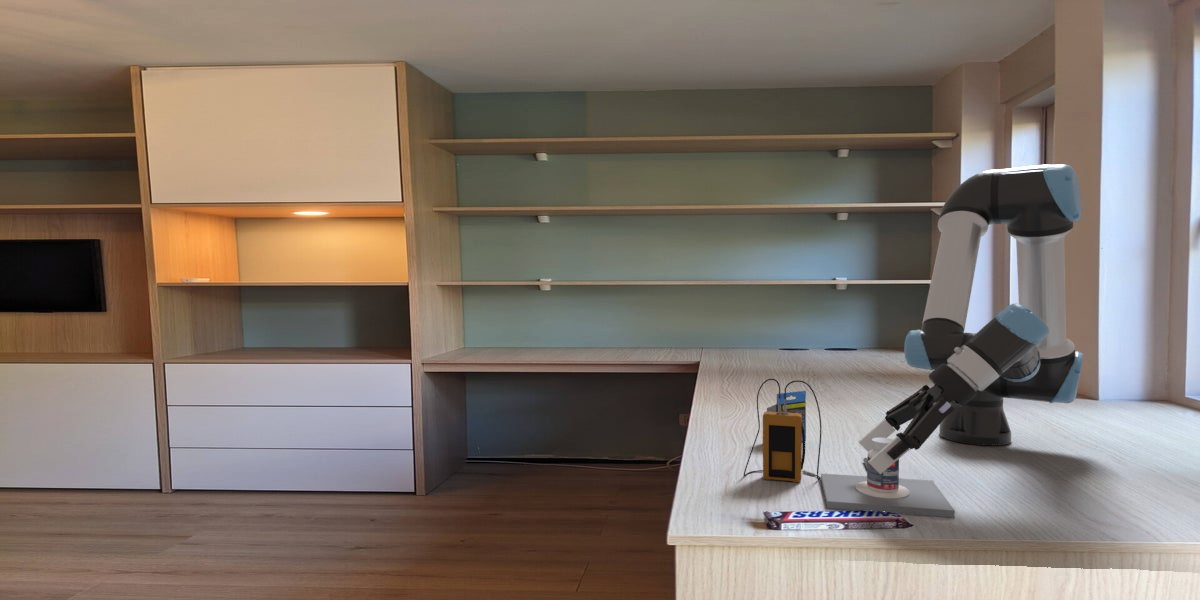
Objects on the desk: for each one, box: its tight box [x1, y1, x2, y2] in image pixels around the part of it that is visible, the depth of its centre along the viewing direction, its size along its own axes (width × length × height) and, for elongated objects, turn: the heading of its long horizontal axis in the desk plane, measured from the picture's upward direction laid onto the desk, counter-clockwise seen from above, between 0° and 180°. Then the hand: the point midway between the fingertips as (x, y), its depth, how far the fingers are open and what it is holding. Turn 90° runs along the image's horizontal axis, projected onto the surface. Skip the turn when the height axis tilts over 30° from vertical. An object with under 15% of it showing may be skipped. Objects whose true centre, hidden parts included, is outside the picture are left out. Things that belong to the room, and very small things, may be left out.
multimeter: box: [743, 378, 822, 483], centre depth 134 cm, size 15×10×20 cm
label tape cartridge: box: [766, 390, 807, 443], centre depth 159 cm, size 9×4×12 cm, turn 114°
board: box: [820, 457, 956, 519], centre depth 128 cm, size 30×20×2 cm, turn 166°
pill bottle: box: [866, 437, 900, 493], centre depth 121 cm, size 5×5×9 cm
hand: (868, 457), depth 121 cm, fingers open, 13 cm apart
